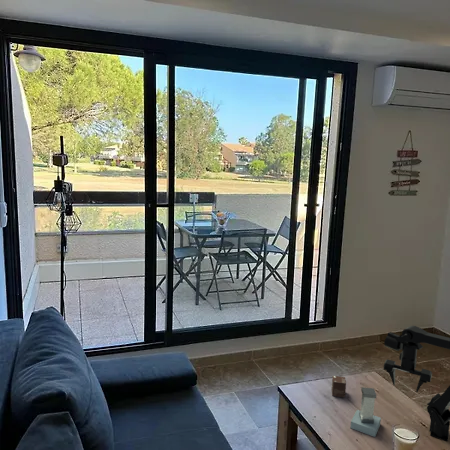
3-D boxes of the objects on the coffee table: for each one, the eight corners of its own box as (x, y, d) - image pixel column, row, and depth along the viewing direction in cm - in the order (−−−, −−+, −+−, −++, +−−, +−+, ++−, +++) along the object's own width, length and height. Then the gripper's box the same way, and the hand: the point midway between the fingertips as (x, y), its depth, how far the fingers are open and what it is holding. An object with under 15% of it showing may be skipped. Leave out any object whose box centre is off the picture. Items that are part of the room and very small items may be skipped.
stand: (380, 424, 174) (380, 417, 174) (375, 437, 166) (375, 430, 165) (356, 415, 180) (357, 409, 179) (350, 428, 171) (350, 421, 171)
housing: (371, 416, 174) (373, 388, 172) (373, 424, 169) (376, 395, 167) (359, 415, 175) (361, 387, 173) (361, 422, 170) (363, 393, 168)
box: (345, 398, 193) (346, 383, 192) (332, 396, 194) (333, 381, 193) (344, 391, 199) (345, 377, 198) (331, 389, 200) (332, 375, 199)
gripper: (434, 353, 178) (430, 386, 181) (389, 342, 188) (386, 374, 190) (432, 364, 169) (428, 398, 171) (384, 351, 179) (381, 384, 181)
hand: (405, 388), depth 179 cm, fingers open, 9 cm apart
